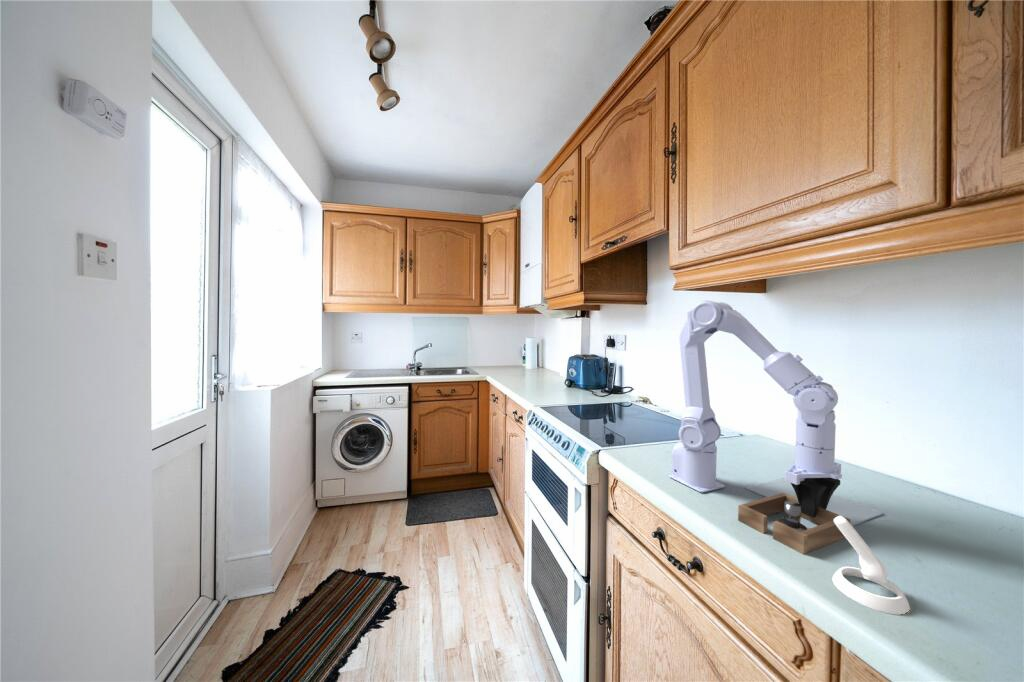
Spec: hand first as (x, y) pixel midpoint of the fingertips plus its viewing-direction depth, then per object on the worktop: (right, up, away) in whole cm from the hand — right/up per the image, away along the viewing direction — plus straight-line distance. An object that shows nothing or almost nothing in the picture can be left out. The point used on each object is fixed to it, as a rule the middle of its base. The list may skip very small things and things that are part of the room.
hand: (812, 513), depth 67 cm
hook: (-8, -2, -18) cm, 20 cm away
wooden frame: (-6, -2, -2) cm, 7 cm away
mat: (+6, -1, +8) cm, 10 cm away
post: (-6, -1, -2) cm, 7 cm away
